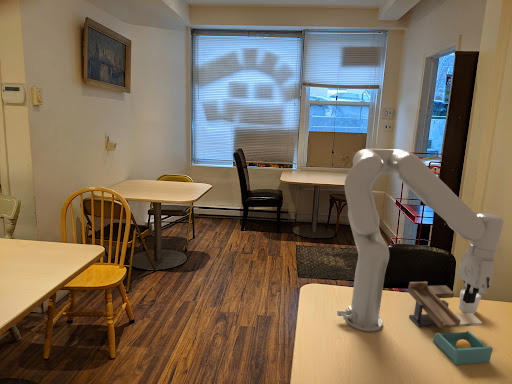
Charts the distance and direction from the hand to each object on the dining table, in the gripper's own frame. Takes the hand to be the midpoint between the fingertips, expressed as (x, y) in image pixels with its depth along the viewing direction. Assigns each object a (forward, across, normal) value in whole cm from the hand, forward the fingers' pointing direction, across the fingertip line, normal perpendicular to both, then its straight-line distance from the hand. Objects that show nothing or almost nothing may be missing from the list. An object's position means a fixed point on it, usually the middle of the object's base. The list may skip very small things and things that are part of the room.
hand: (468, 301), depth 124 cm
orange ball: (+9, +10, -7) cm, 16 cm away
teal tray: (+12, +9, -7) cm, 17 cm away
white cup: (+12, -13, +13) cm, 22 cm away
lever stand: (+12, -7, -7) cm, 16 cm away
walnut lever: (+7, -7, -3) cm, 10 cm away
